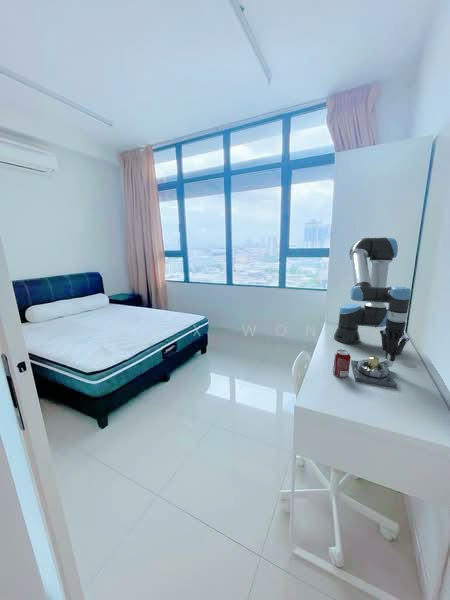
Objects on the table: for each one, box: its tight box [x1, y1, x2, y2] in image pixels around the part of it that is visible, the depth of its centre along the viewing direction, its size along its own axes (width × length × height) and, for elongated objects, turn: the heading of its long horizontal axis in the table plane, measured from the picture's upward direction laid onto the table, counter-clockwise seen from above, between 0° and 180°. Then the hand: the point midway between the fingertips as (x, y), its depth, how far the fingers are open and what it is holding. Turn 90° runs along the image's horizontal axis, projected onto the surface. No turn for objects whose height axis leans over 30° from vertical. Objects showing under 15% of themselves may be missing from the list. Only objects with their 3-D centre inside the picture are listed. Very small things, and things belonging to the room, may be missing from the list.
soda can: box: [332, 348, 351, 378], centre depth 117 cm, size 7×7×12 cm
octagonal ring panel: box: [358, 359, 390, 377], centre depth 118 cm, size 19×12×4 cm, turn 114°
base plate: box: [350, 355, 398, 389], centre depth 117 cm, size 18×16×9 cm
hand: (389, 366), depth 120 cm, fingers closed
